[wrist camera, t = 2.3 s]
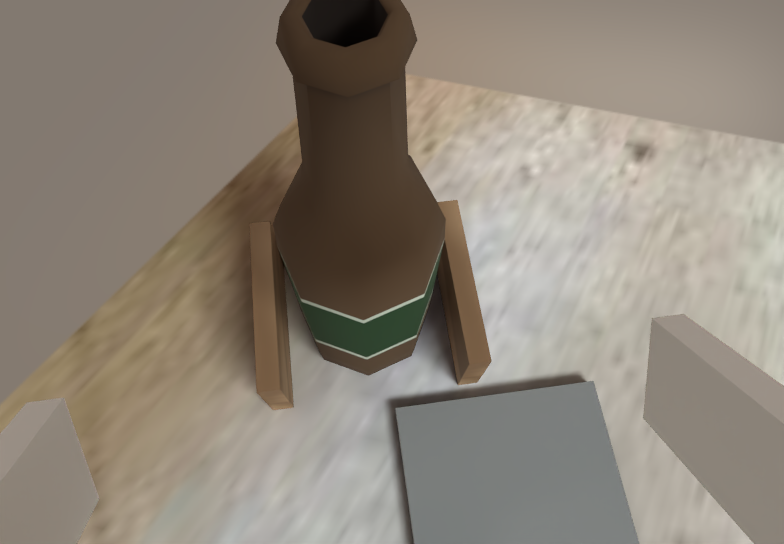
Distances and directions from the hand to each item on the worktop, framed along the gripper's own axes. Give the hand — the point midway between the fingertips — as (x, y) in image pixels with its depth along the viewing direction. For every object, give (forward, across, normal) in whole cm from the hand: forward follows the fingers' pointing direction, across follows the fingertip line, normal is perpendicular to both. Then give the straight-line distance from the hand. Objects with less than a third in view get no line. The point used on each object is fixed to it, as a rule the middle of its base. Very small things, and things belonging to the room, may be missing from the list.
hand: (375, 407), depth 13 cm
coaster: (+14, +8, -17) cm, 23 cm away
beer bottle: (+22, 0, -8) cm, 24 cm away
